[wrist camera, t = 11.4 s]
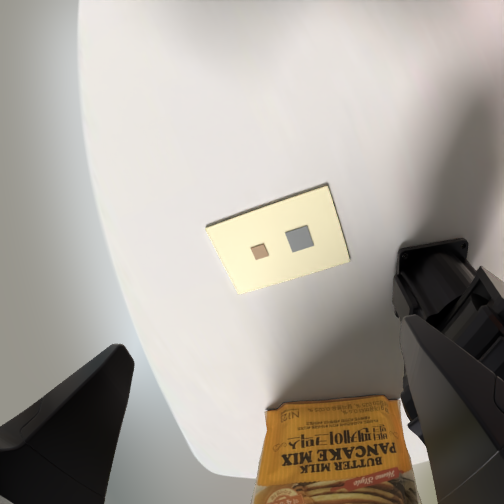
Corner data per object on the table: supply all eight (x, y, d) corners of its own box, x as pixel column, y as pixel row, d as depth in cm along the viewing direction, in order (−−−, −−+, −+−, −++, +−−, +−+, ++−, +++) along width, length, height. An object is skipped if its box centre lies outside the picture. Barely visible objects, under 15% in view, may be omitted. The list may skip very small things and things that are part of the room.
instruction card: (327, 185, 19) (327, 186, 19) (349, 260, 21) (350, 262, 21) (205, 227, 21) (204, 229, 21) (238, 293, 24) (238, 295, 23)
